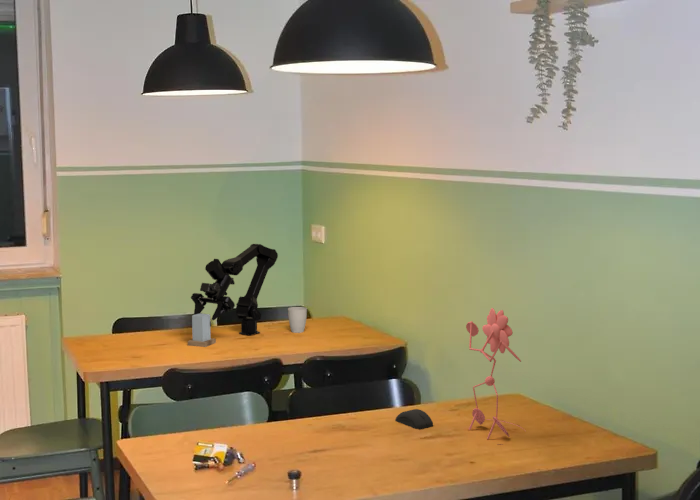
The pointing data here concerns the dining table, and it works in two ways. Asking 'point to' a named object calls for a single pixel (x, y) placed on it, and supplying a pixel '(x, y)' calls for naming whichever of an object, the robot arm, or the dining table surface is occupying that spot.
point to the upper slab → (202, 343)
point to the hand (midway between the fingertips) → (203, 318)
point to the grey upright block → (201, 327)
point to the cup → (297, 318)
